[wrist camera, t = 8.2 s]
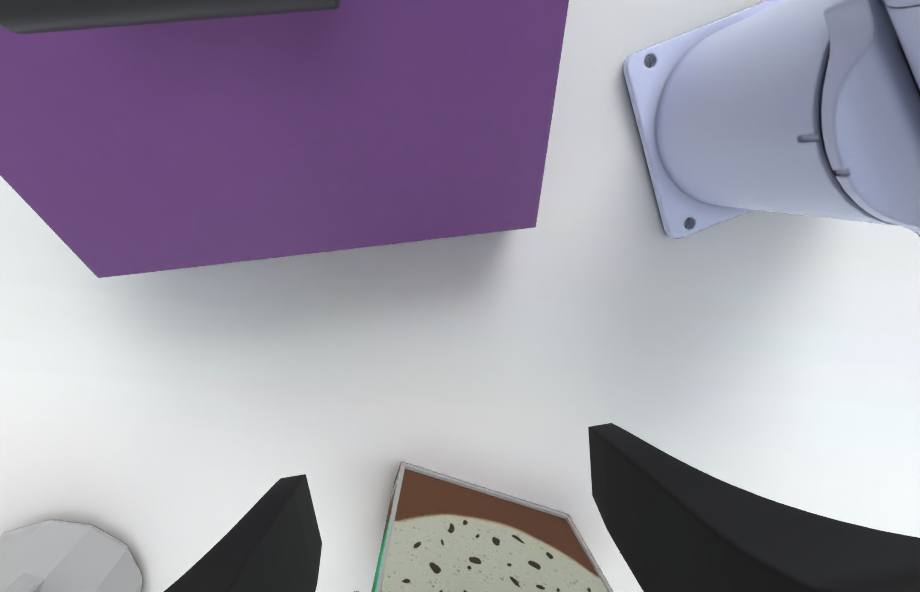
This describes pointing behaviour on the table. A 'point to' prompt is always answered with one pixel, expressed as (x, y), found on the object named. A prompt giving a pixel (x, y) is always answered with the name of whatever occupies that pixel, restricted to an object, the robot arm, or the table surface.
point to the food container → (478, 541)
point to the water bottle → (65, 560)
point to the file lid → (274, 123)
